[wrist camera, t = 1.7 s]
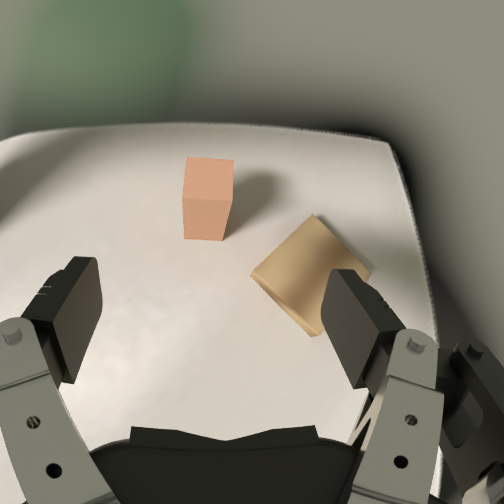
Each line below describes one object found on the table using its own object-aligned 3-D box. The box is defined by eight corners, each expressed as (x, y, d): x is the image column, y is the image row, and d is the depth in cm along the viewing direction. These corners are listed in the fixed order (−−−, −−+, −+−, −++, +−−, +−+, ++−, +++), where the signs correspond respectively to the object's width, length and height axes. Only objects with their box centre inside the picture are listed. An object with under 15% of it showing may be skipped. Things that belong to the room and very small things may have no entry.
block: (184, 238, 33) (182, 197, 24) (186, 204, 34) (186, 157, 26) (222, 240, 34) (232, 200, 25) (223, 206, 35) (233, 160, 26)
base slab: (249, 276, 33) (254, 269, 30) (303, 224, 36) (312, 213, 34) (309, 337, 32) (319, 335, 29) (357, 280, 35) (370, 273, 33)
